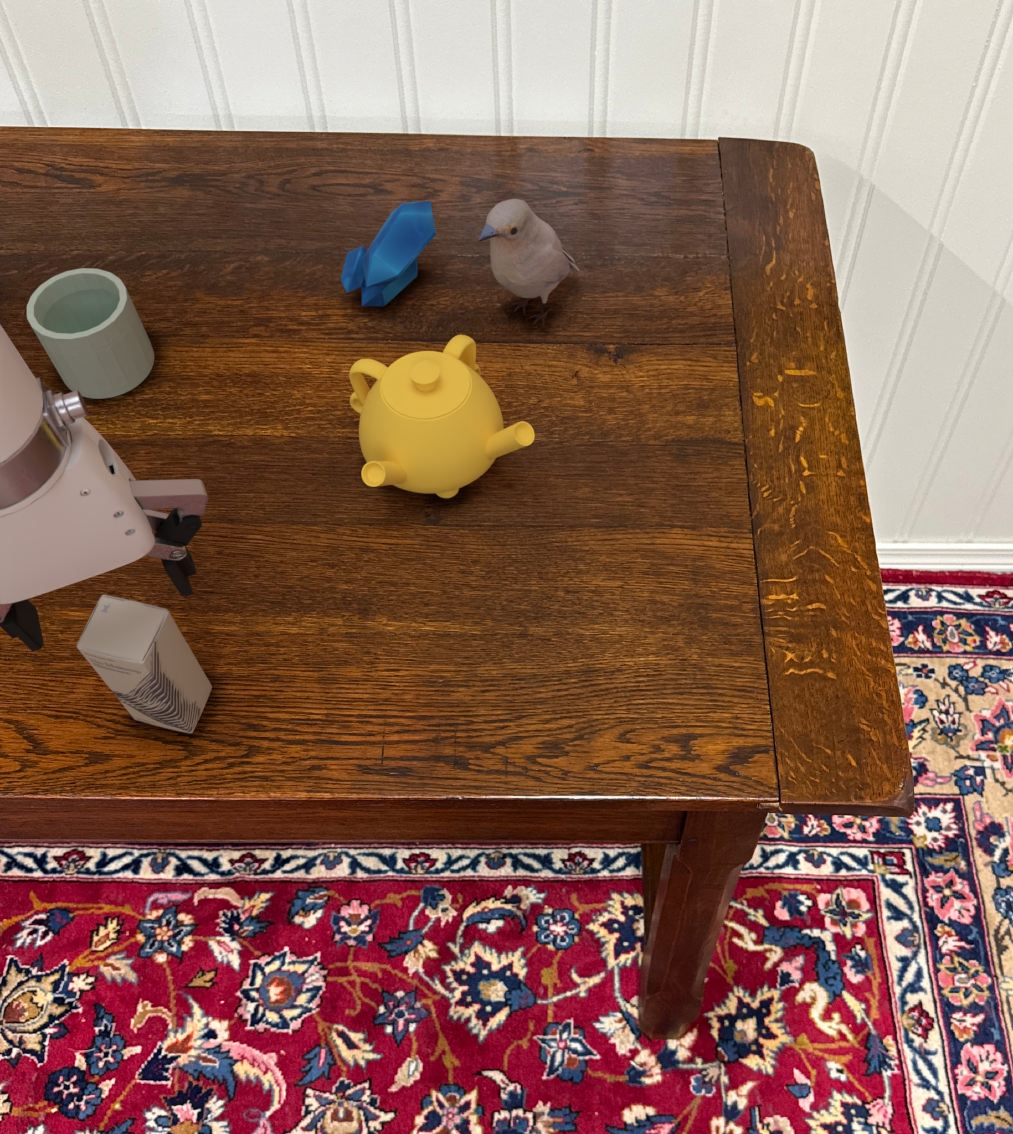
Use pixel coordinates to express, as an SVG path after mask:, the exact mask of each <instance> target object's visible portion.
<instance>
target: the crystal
mask: <svg viewBox="0 0 1013 1134" xmlns="http://www.w3.org/2000/svg"><path fill="white" fill-rule="evenodd" d="M384 221H385V222H384V223H383V224H382V226H381V228H380V229H379V230H378V233H377V234H376V236H375V238H374V239H373V241H372V242H371V244H370V245H369V247H368V249H367V248H366V246H365V245H364V244H363V245H361V246H359V247H356V248H355V249H352V250H350V251H348V252H347V253H346V257H345V260H344V265H343V269H342V273H341V276H340V283H341V284H342V287H343V288H344V290H345V292H346V294H349V293H351V292H354V291H355V290H357V289H358V290H359V289H361V307H385V306H387V305H388V304H389V303H390V302H392V300H393V299H394V298H395V297H396V296H398V294H400V293H401V292H402V291H403V290H404V289H405V288H406V287H408V285H409V284H411V283H412V281H414V280H415V279H416V278H417V277H418V271H419V269H418V267H419V266H418V265H419V262H418V261H419V255H420V254H421V253H422V252H423V251H424V249H425V248H426V247H427V246H428V245H429V243H430V242H431V241H432V240H433V239H434V238H435V237H436V236H437V232H436V225H435V219H434V215H433V208H432V203H431V200H422V201H413V202H402V203H401V204H400V205H398V206H397V207H396V208H395V209H394V210H393V211H391V212H390V213H389V215H388V217H387V218H386V220H384Z"/></svg>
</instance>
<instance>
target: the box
mask: <svg viewBox="0 0 1013 1134" xmlns="http://www.w3.org/2000/svg"><path fill="white" fill-rule="evenodd" d="M76 649H77V650H78V651H79V652H80V654H81V655H82V656H83V657H84V659H85V660H86V661H87V663H88V664H90V666H91V667H92V669H94V671H95V672H96V674H97V675H98V676H99V677H100V678H101V679H102V681H103V682H104V683H105V685H106V686H107V687H108V688H109V690H110V692H112V694H113V695H114V696H115V697H116V698H117V699H118V701H119V702H120V704H121V705H122V706H123V707H124V709H125V710H126V711H127V712H128V713H129V715H130V716H131V717H132V718H133V720H135V721H137V722H142V723H145V724H148V725H152V726H155V727H160V728H163V729H168V730H171V731H176V732H180V733H181V732H182V733H186V734H193V732H194V731H195V729H196V727H197V724H198V722H199V720H200V718H201V717H202V713H203V712H204V708H205V707H206V704H207V702H208V699H209V697H210V694H211V692H212V689H213V685H212V683H211V682H210V679H209V678H208V677H207V675H206V673H205V671H204V670H203V668H202V666H201V664H200V663H199V661H198V660H197V658H196V656H195V654H194V653H193V651H192V649H191V647H190V646H189V644H188V642H187V640H186V638H185V637H184V635H183V634H182V632H181V630H180V629H179V627H178V624H177V623H176V622H175V620H174V618H173V616H172V614H171V613H170V611H169V609H166V608H165V607H160V606H157V605H153V604H149V603H144V602H140V601H136V600H131V599H127V598H122V597H118V596H113V595H107V594H102V595H101V596H100V597H99V599H98V600H97V603H96V605H95V606H94V608H93V610H92V612H91V615H90V616H89V618H88V621H87V622H86V625H85V626H84V629H83V631H82V633H81V635H80V637H79V639H78V641H77V644H76Z"/></svg>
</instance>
